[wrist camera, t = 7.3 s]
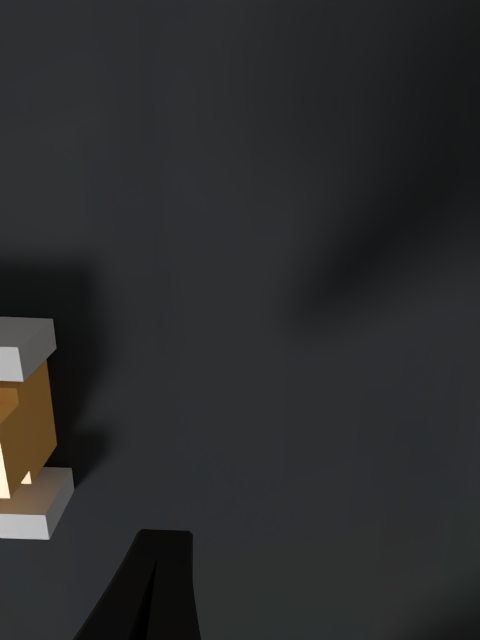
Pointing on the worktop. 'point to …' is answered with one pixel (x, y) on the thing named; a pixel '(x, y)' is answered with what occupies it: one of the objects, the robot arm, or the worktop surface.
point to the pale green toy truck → (51, 482)
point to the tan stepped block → (25, 429)
